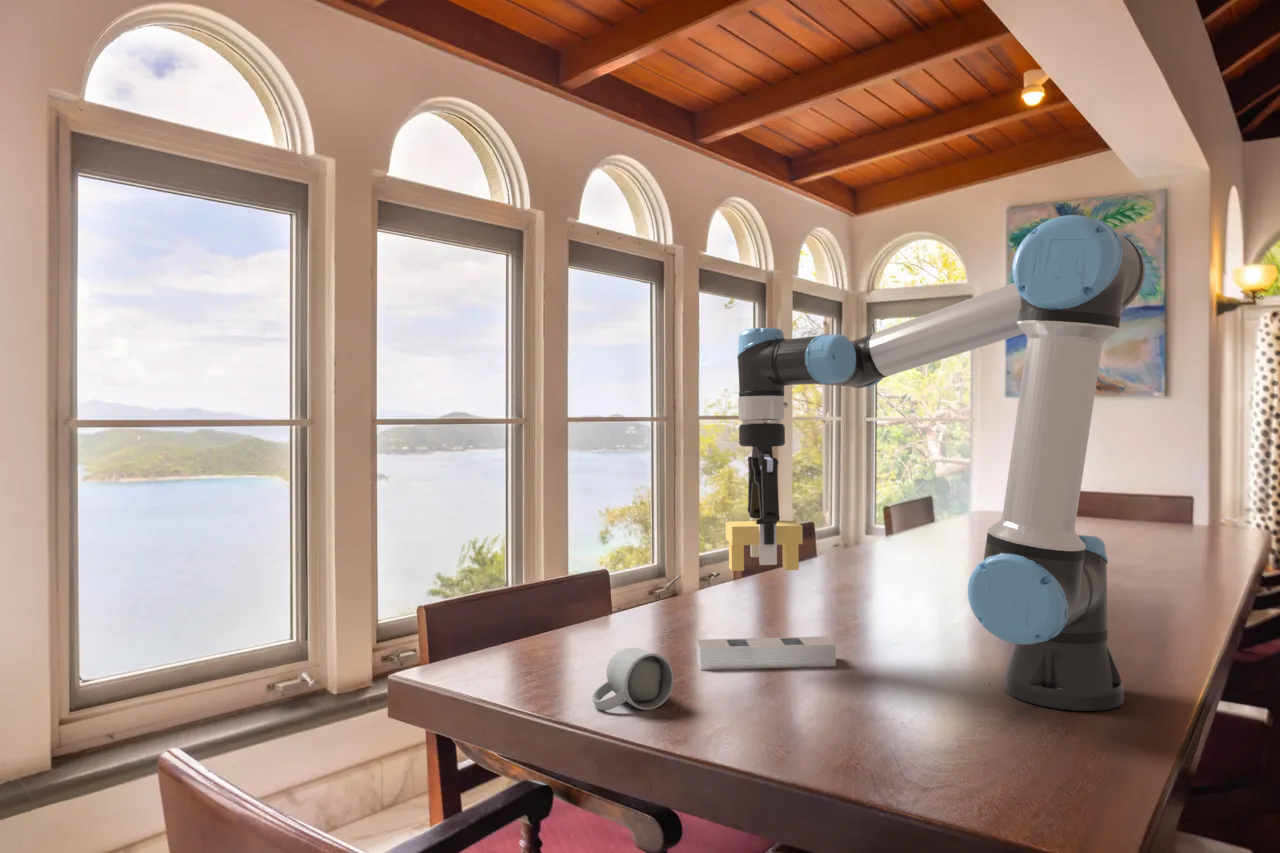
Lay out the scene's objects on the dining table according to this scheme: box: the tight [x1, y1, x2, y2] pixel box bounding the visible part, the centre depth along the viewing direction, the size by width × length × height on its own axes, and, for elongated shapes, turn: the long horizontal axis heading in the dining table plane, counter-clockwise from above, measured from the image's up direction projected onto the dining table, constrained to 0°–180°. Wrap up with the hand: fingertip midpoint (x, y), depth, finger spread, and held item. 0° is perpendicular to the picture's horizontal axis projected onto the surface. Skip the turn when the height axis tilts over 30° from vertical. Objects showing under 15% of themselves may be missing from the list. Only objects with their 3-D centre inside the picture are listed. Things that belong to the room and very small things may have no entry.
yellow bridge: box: [725, 520, 804, 572], centre depth 138 cm, size 8×11×8 cm, turn 92°
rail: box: [696, 636, 837, 671], centre depth 137 cm, size 6×22×4 cm, turn 92°
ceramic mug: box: [591, 647, 675, 711], centre depth 118 cm, size 11×8×8 cm
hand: (763, 560), depth 137 cm, fingers closed on yellow bridge, 8 cm apart
